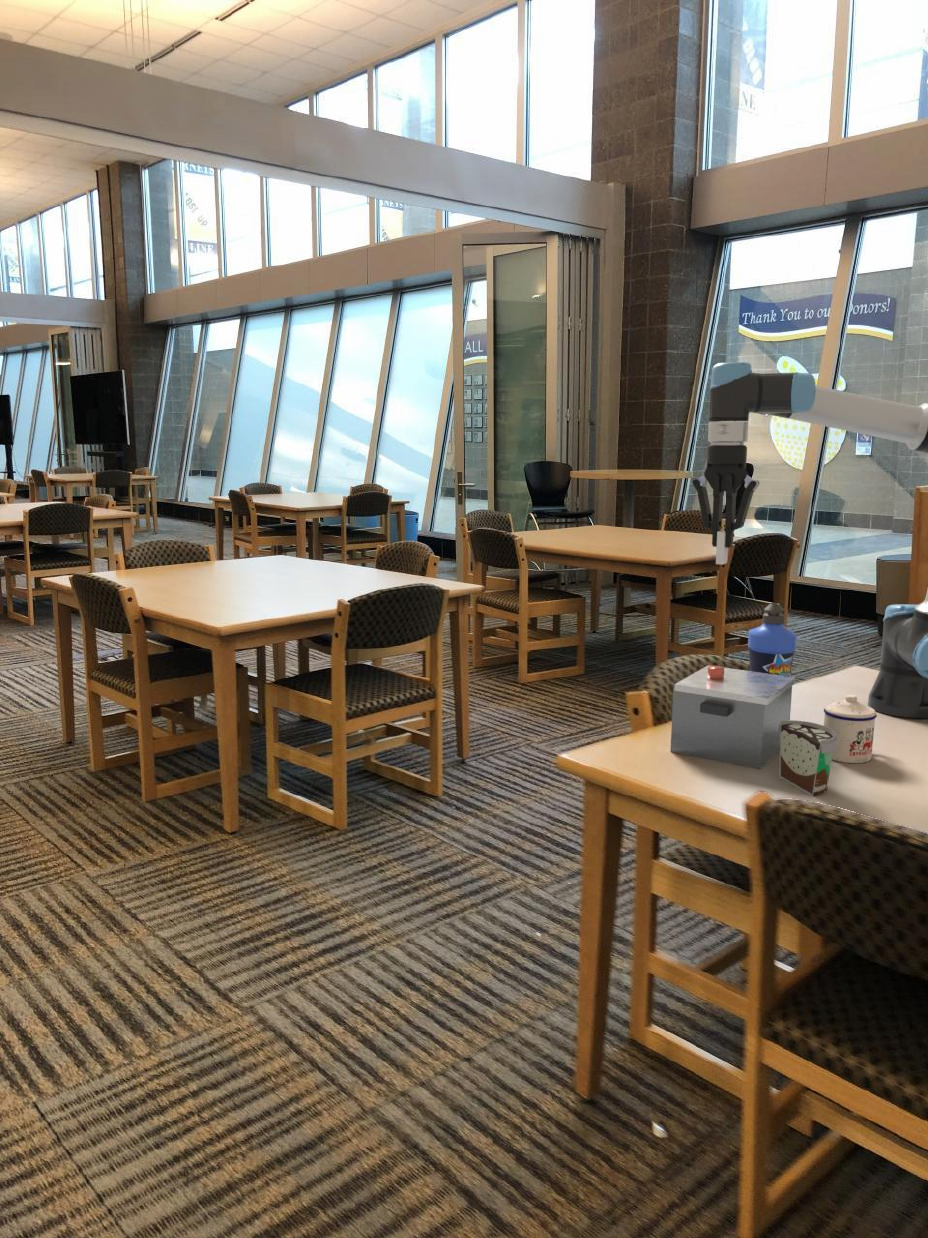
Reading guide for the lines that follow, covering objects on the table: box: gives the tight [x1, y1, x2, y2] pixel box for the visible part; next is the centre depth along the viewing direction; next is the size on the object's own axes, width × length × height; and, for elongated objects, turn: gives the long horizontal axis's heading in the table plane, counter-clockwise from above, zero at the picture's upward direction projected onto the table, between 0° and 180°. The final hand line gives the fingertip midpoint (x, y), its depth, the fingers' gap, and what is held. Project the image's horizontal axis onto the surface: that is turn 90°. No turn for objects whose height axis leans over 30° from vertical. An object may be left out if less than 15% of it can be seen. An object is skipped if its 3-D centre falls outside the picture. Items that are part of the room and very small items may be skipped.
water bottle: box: [747, 602, 798, 720], centre depth 197 cm, size 9×9×25 cm
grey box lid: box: [673, 664, 796, 705], centre depth 181 cm, size 17×18×3 cm
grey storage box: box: [670, 685, 793, 770], centre depth 183 cm, size 17×21×12 cm
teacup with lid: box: [823, 694, 878, 764], centre depth 179 cm, size 12×9×12 cm
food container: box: [778, 719, 838, 797], centre depth 164 cm, size 12×6×10 cm, turn 17°
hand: (721, 563), depth 194 cm, fingers closed
